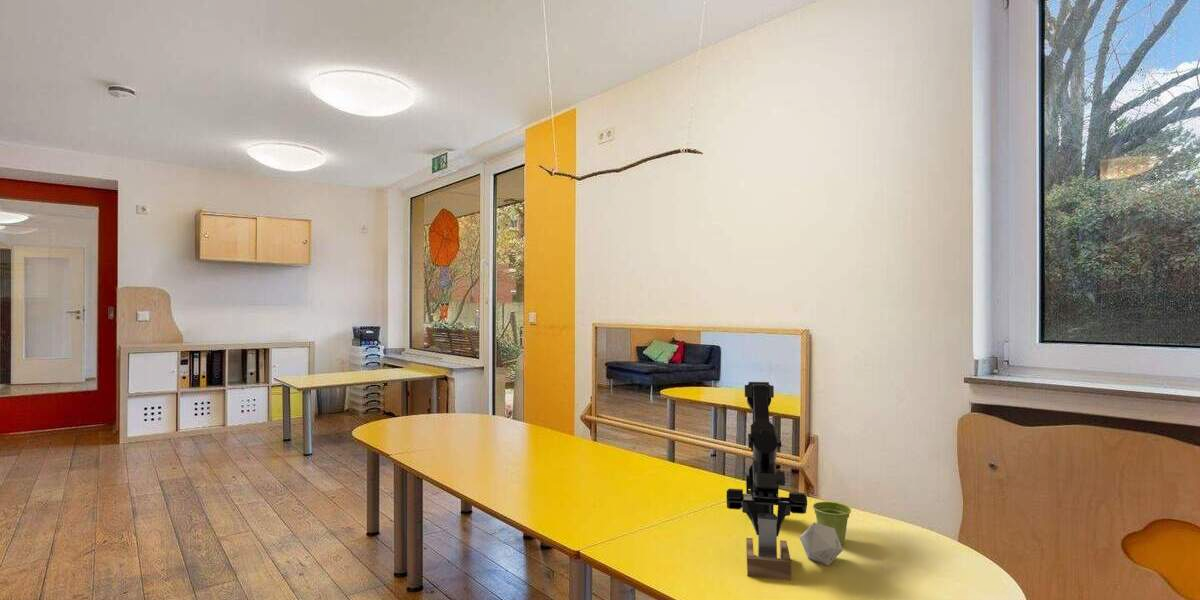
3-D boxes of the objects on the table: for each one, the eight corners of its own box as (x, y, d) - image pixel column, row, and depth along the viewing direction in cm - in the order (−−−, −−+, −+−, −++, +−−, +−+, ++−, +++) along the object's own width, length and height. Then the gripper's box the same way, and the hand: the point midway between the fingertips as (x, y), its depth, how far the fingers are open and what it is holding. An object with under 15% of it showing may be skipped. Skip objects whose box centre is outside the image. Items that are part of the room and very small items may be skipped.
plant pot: (857, 540, 153) (856, 506, 153) (843, 551, 146) (843, 516, 146) (821, 531, 159) (821, 499, 159) (806, 541, 152) (806, 508, 152)
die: (811, 572, 136) (839, 541, 134) (786, 541, 143) (812, 511, 141) (829, 575, 141) (856, 545, 139) (804, 545, 148) (829, 516, 146)
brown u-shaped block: (746, 554, 145) (746, 537, 145) (786, 557, 143) (786, 540, 143) (747, 576, 133) (747, 558, 133) (791, 580, 131) (791, 562, 131)
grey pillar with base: (758, 556, 142) (757, 510, 142) (775, 557, 141) (774, 511, 141) (759, 568, 135) (758, 521, 135) (777, 570, 134) (776, 522, 134)
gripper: (726, 455, 144) (726, 516, 134) (805, 459, 140) (812, 522, 129) (727, 478, 152) (726, 537, 141) (802, 482, 148) (808, 544, 137)
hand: (767, 535), depth 137 cm, fingers closed on grey pillar with base, 4 cm apart
